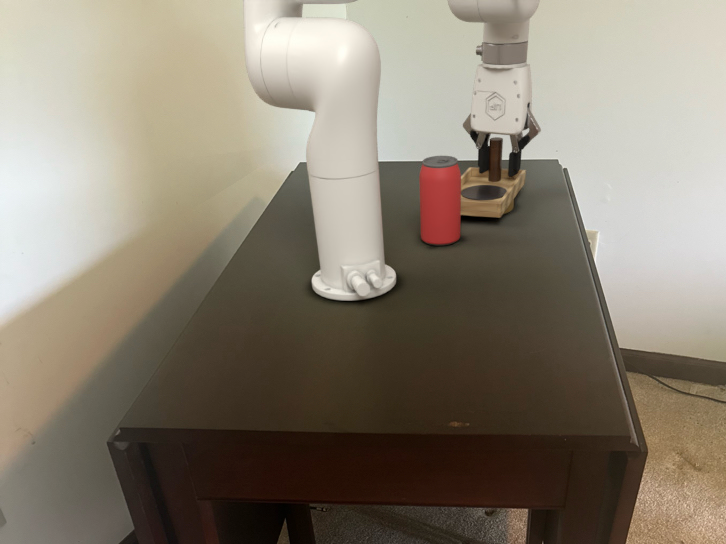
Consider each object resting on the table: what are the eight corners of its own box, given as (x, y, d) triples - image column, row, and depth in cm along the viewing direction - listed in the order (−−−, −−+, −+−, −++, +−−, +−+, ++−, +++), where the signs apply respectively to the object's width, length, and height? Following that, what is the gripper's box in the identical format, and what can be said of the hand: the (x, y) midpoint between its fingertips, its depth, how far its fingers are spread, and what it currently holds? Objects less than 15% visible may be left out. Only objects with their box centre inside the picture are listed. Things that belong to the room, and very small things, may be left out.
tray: (500, 217, 114) (502, 167, 109) (438, 213, 117) (438, 164, 112) (525, 183, 128) (528, 137, 123) (469, 180, 131) (470, 135, 125)
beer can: (468, 238, 112) (469, 158, 104) (442, 250, 109) (442, 168, 101) (438, 230, 116) (437, 152, 107) (412, 241, 112) (410, 162, 104)
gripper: (449, 56, 115) (448, 173, 127) (543, 60, 108) (533, 184, 120) (469, 50, 119) (467, 164, 131) (561, 53, 112) (549, 173, 125)
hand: (498, 172), depth 126 cm, fingers open, 5 cm apart
